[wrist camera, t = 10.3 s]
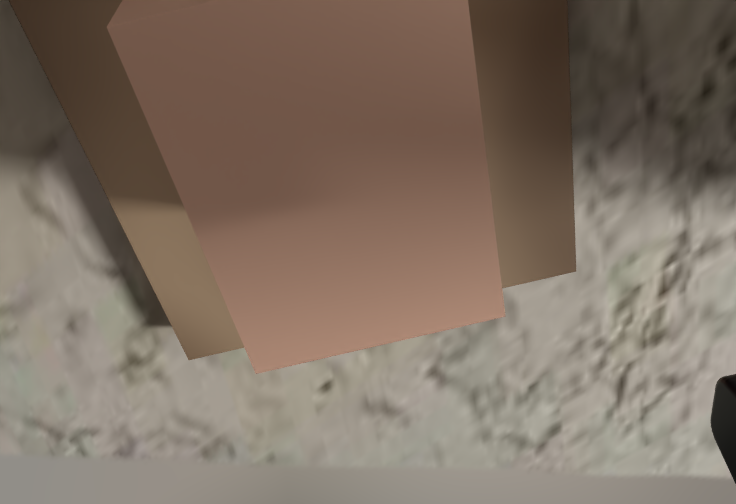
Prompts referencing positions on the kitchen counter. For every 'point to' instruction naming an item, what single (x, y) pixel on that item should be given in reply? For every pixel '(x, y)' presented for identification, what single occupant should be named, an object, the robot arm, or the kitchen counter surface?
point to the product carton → (323, 163)
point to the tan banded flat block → (169, 218)
